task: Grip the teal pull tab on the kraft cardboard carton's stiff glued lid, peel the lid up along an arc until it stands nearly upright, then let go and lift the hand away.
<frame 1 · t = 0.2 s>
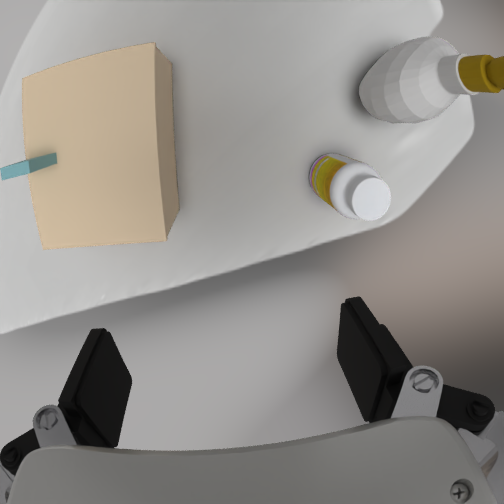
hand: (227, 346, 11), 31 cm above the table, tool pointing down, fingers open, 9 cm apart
carton: (117, 143, 36), on the table
lid: (73, 155, 24), point 13 cm above the table, hinge at 0.0°
supplement bottle: (330, 175, 41), on the table
soap bottle: (382, 85, 35), on the table
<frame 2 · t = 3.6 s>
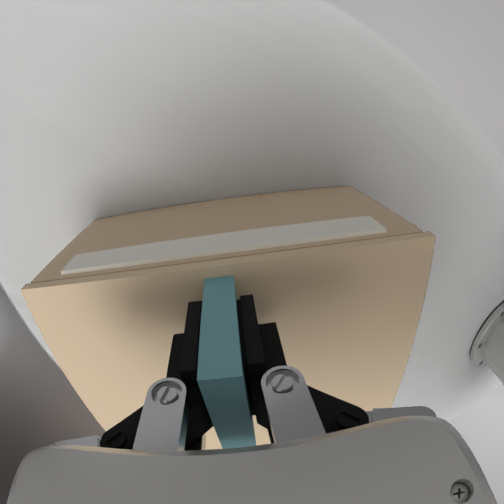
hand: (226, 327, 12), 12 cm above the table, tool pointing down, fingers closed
carton: (232, 292, 25), on the table
lid: (244, 428, 13), point 13 cm above the table, hinge at 0.0°, touching gripper
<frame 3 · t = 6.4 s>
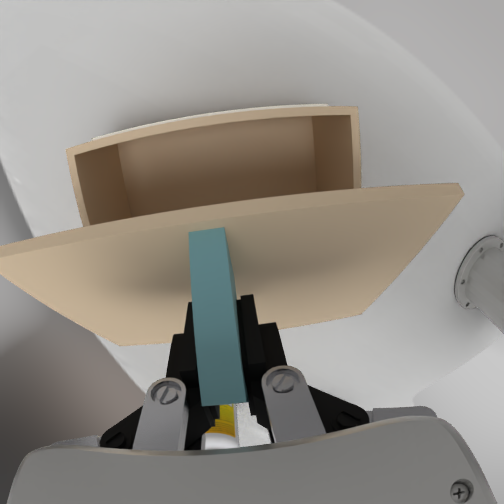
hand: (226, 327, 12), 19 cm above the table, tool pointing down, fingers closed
carton: (222, 198, 30), on the table
lid: (233, 346, 15), point 17 cm above the table, hinge at 37.0°, touching gripper
supplement bottle: (213, 395, 42), on the table
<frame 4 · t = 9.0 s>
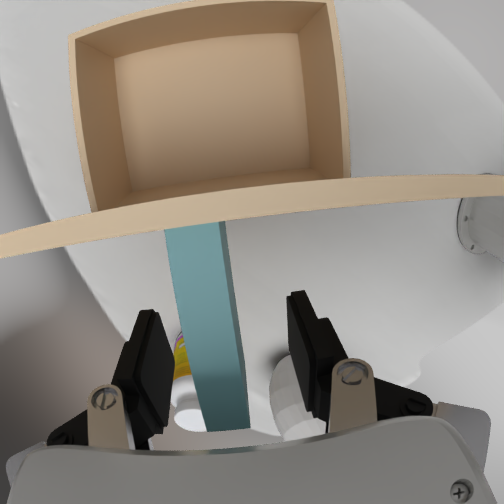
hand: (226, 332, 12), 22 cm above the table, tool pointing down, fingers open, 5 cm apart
carton: (211, 106, 28), on the table
lid: (221, 271, 14), point 19 cm above the table, hinge at 72.8°
supplement bottle: (199, 343, 40), on the table
soap bottle: (301, 368, 44), on the table
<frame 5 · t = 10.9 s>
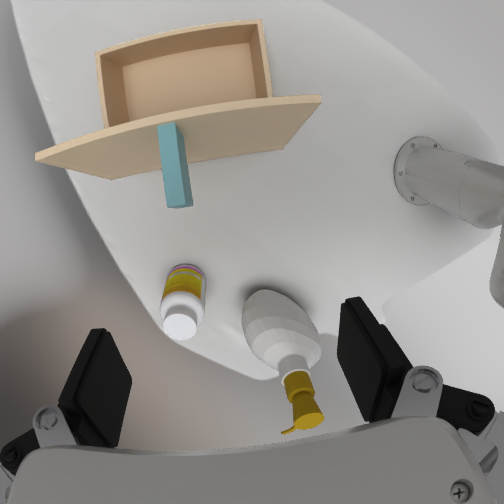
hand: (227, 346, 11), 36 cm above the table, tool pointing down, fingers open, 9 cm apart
carton: (190, 98, 39), on the table
lid: (186, 174, 26), point 19 cm above the table, hinge at 72.8°
supplement bottle: (186, 280, 51), on the table
soap bottle: (272, 305, 55), on the table
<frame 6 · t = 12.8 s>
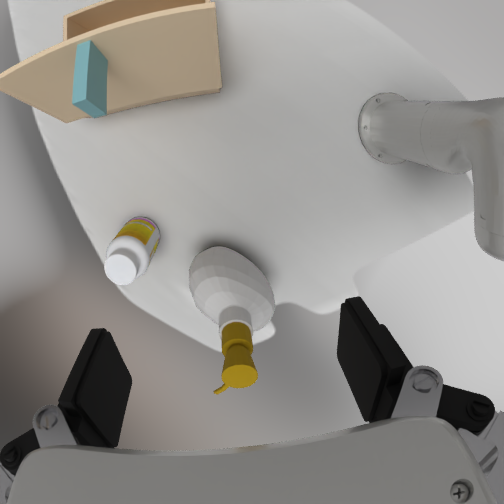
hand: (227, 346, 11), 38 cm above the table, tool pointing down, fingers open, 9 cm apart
carton: (150, 56, 37), on the table
lid: (114, 98, 24), point 19 cm above the table, hinge at 72.8°
supplement bottle: (142, 234, 49), on the table
soap bottle: (229, 265, 53), on the table
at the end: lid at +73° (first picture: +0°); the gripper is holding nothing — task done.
